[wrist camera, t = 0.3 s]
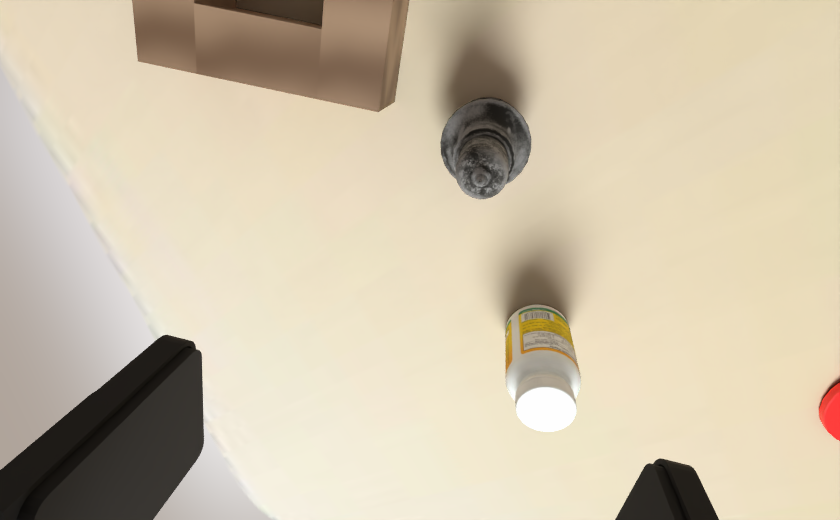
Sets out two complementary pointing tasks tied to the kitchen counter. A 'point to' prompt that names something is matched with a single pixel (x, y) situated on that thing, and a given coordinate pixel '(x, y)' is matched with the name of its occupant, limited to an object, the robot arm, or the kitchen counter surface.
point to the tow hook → (831, 411)
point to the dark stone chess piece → (485, 146)
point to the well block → (281, 47)
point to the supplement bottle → (542, 368)
